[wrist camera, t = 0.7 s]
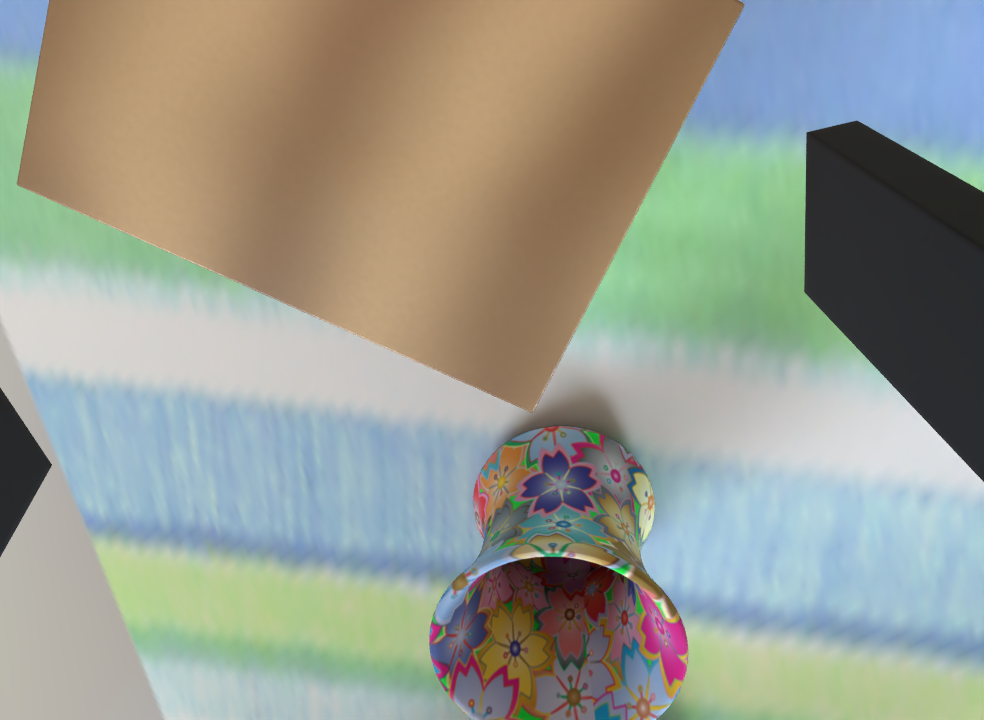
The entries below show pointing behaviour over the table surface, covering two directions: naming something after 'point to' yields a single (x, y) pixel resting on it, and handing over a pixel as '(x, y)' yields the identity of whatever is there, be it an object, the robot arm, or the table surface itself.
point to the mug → (560, 590)
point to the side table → (379, 153)
